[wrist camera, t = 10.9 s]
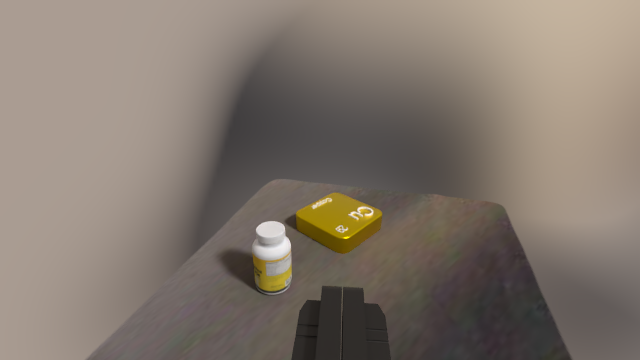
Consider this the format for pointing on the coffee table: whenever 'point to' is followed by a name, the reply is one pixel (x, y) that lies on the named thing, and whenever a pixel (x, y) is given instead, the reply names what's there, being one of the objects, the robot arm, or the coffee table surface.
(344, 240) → the element tile
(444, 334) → the coffee table surface
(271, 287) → the pill bottle
